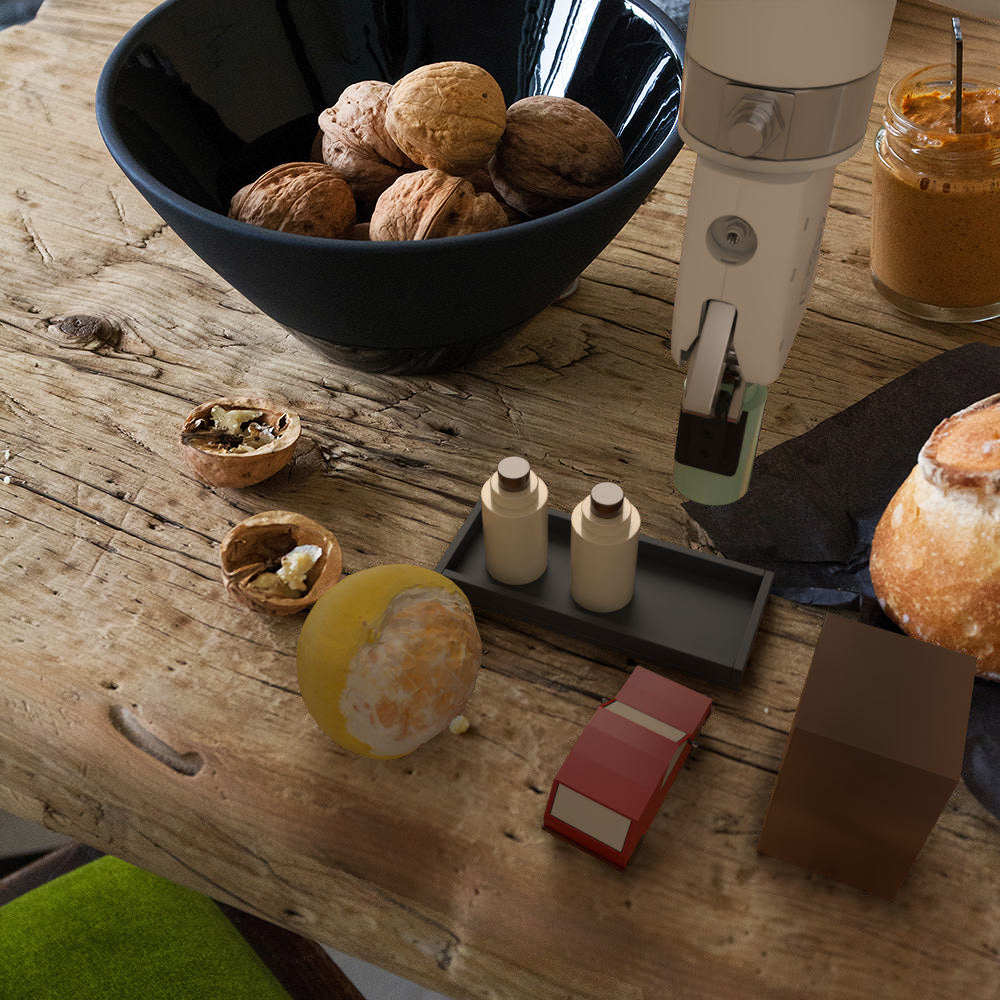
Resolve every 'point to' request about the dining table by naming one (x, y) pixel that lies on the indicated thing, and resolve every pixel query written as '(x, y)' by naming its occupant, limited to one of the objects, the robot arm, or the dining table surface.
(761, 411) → the bottle celadon
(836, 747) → the stand
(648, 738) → the toy truck
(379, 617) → the fruit
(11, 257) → the dining table surface
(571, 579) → the bottle mid
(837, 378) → the dining table surface
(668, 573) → the tray
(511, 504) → the bottle far
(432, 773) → the dining table surface
